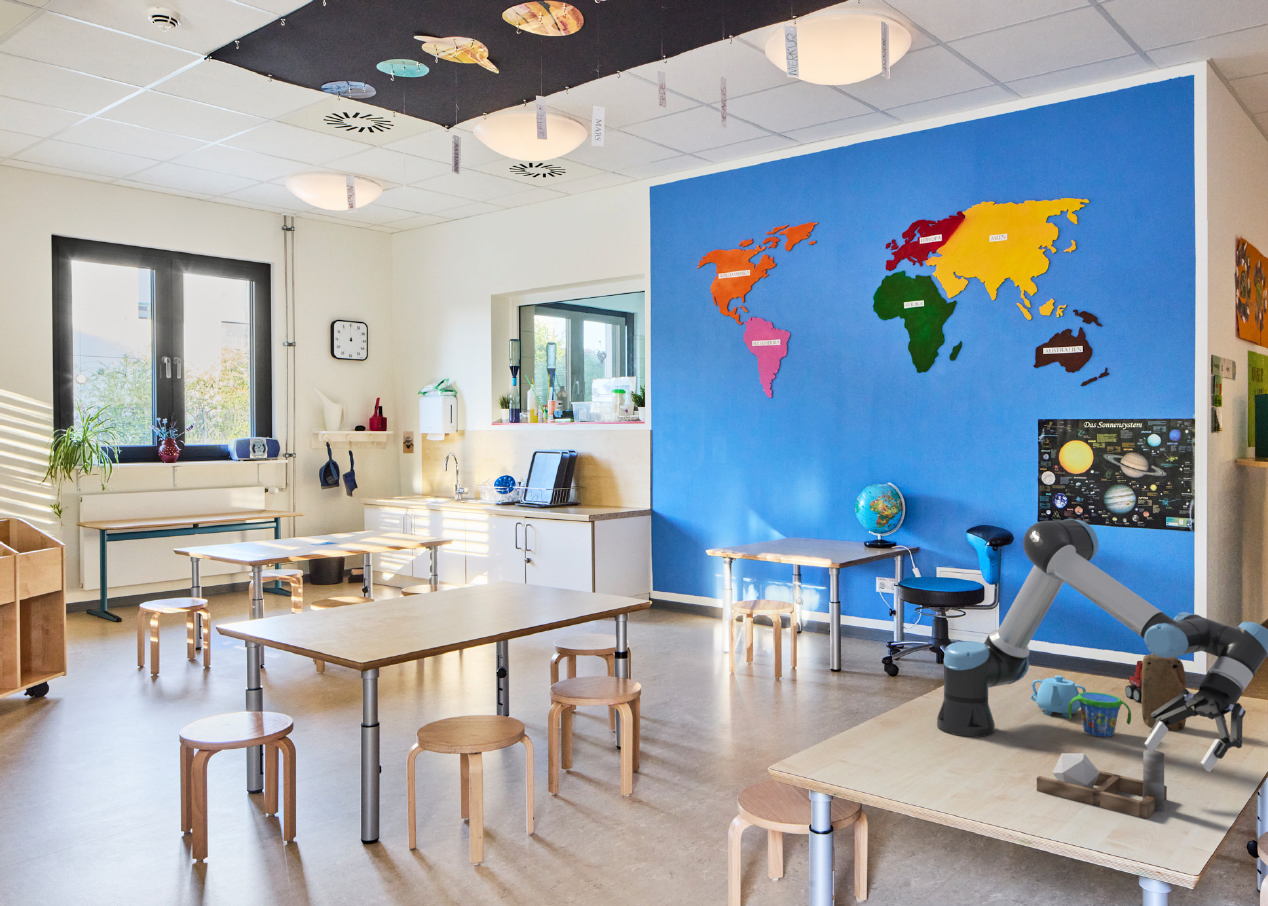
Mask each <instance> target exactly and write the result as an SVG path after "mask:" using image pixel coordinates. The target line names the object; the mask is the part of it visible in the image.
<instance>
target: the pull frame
mask: <svg viewBox="0 0 1268 906" xmlns="http://www.w3.org/2000/svg"><path fill="white" fill-rule="evenodd" d="M1142 753H1143V756H1142V757H1143V760H1142V767H1143V768H1142V769H1143V770H1142V780H1141V779H1137V778H1132V777H1129V776H1123V775H1119V774H1115V773H1112V772H1111V773H1110V772H1106V771H1103V770H1098V769H1097V770H1098V771H1099V772H1100V774H1099V776H1098V778H1097V780H1096V782H1095V784H1094V786H1095V785H1096V786H1098V787H1097V788H1093V789H1091V788H1087V787H1083V786H1079V785H1075V784H1071V783H1067V782H1062V781H1058V780H1057V779H1054V778H1050V777H1046V776H1041V775H1038V776H1037V777H1036V791H1037V792H1041V793H1046V794H1047V795H1048V794H1049V795H1052V796H1056V797H1061V798H1064V799H1069V800H1071V801H1076V802H1080V803H1084V804H1087V805H1091V806H1095V807H1099V808H1103V809H1107V810H1111V811H1115V812H1118V813H1122V814H1126V815H1131V816H1135V817H1137V818H1142V819H1145V820H1147V819H1149V818H1150V817H1151V816H1152V815H1153V814H1154V813H1155V812H1156V813H1160V812H1163V811H1165V810H1164V809H1165V802H1166V801H1167V798H1168V797H1167V794H1168V793H1167V792H1168V790H1167V789H1168V786H1167V785H1165V753H1164V752H1162V751H1158V750H1156V749H1155V750H1149V749H1146V750H1143V752H1142ZM1119 791H1120V792H1124V793H1128V794H1132V795H1137V796H1141V797H1142V800H1138V799H1136V798H1132V797H1131V798H1130V797H1127V796H1123V795H1118V794H1117V793H1118V792H1119Z"/></svg>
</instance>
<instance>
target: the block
mask: <svg viewBox="0 0 1268 906" xmlns="http://www.w3.org/2000/svg"><path fill="white" fill-rule="evenodd" d="M1142 661H1143V665H1142V697H1141V702H1140V703H1141V714H1142V721H1143V723H1144V724H1145V725H1146V726H1149V727H1151V728H1152V727H1153V726H1154V724H1155V723H1156V721H1155V719H1154V718H1153V717H1152V716H1151V713H1152V712H1154V711H1155V710H1157V709H1158V708H1160V707H1161V706H1163V705H1164V704H1166V703H1167V702H1169V701H1170V700H1172V699H1173V698H1175V697H1176V696H1178V695H1179V694H1180V693H1181V691H1182V690H1183V689H1187V679H1186V671H1185V667H1184V663H1183V662H1182V661H1181V659H1179V658H1178V657H1171V658H1169V657H1168V658H1162V657H1158V656H1156V655H1154V654H1152V653H1150V654H1145V655H1144V656H1143V659H1142ZM1186 720H1187V718H1186V719H1183V720H1181V721H1179V722H1176V723H1174V724H1172V725H1169V726H1167V728H1168V731H1182V730H1184V729H1185V727H1186ZM1164 721H1166V720H1164Z"/></svg>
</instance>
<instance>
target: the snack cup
mask: <svg viewBox="0 0 1268 906" xmlns="http://www.w3.org/2000/svg"><path fill="white" fill-rule="evenodd" d="M1076 700H1078V701H1080V705H1081V707H1080V713H1081V721H1082V728H1083V732H1085V733H1086V734H1089V735H1091V736H1094V737H1107V738H1110V737H1112V736H1113V735H1114V734H1116V733H1115V732H1116V727H1117V726H1116V725H1117V720H1118V716H1119V712H1120V709H1121V706H1122V705H1124V706H1125V707H1126V709H1127V711H1128V712H1127V719H1126V724H1127V725H1130V724H1131V722H1132V711H1131V708H1130V706H1129V705H1128V704H1127V703H1126V702H1125V701H1123V700H1122V699H1121V698H1119V697H1118V696H1115V695H1112V694H1109V693H1103V692H1096V691H1095V692H1094V691H1088V692H1087V691H1086V692H1083V691H1082V692H1081V693H1080V692H1079V695H1078V696H1076V697H1074V698H1073V699H1072V700H1071V701H1070V703H1069V706H1068V714H1069V718H1068V719H1070V720H1072V719H1073V717H1072V714H1071V712H1072V703H1073V702H1075V701H1076Z"/></svg>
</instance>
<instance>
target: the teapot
mask: <svg viewBox="0 0 1268 906" xmlns="http://www.w3.org/2000/svg"><path fill="white" fill-rule="evenodd" d="M1036 683H1041V684H1040V686H1039V688H1038V690H1037V689H1036ZM1031 688H1032V690H1033V694H1031V695H1030V699H1031V700H1032V701H1033V702H1036V704H1037V706H1038V708H1039V709H1040V710H1043V714H1044V715H1046V716H1047V715H1048V716H1050V715H1052V713H1057V714H1058V713H1059V714H1062V717H1063V718H1066V717H1067V719H1070V718H1069V714H1068V706H1069V703H1070V701H1071V700H1072V699H1073V698H1074V697H1076V696H1078V695H1079V694H1080V692H1079V690H1078V688H1079V689H1081V690H1082V693H1083V692H1087V690H1086V687H1084V686H1083V685H1082V684H1076V683H1075V682H1074V680H1070V679H1066V678H1065V677H1064V676H1063V675H1054V676H1053V677H1046V678H1044V679H1035V680H1033V681H1032V684H1031ZM1080 709H1081V705H1080V701H1078V700H1076V701H1075V702H1073V703H1072V712H1071V715H1072V714H1075V713H1077V712H1078V711H1079V710H1080Z"/></svg>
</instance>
